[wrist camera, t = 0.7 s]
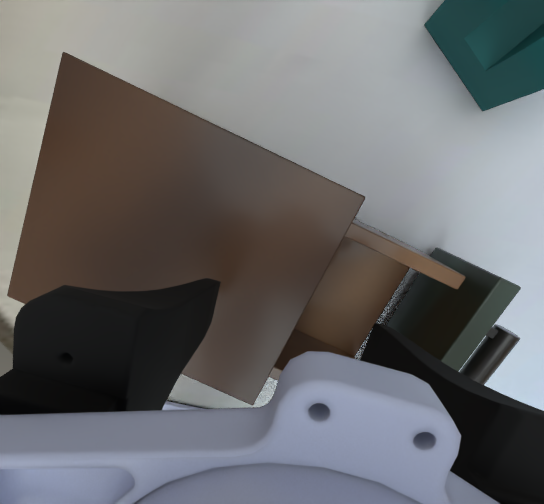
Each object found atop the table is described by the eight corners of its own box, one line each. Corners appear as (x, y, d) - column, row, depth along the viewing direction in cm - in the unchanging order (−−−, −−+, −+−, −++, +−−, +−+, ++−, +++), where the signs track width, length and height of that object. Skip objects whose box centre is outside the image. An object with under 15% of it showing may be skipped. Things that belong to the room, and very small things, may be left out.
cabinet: (338, 190, 21) (366, 197, 13) (267, 329, 24) (252, 406, 16) (155, 102, 21) (62, 50, 12) (106, 255, 24) (6, 296, 16)
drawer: (501, 278, 21) (596, 323, 14) (416, 396, 24) (462, 478, 17) (281, 172, 20) (274, 169, 14) (220, 306, 23) (191, 356, 17)
